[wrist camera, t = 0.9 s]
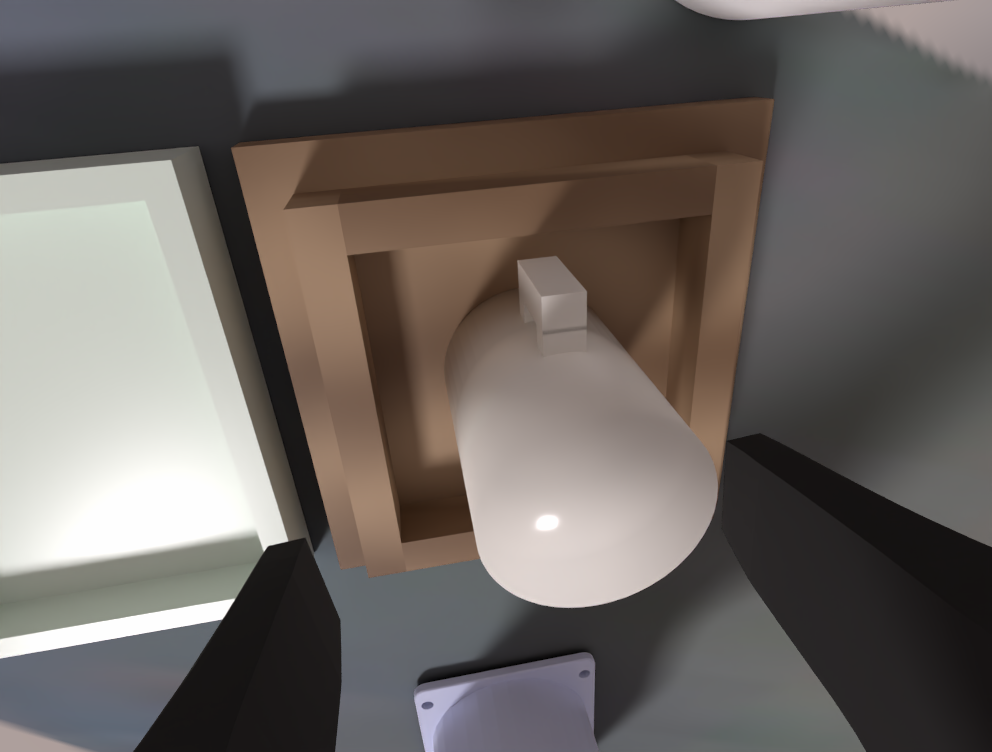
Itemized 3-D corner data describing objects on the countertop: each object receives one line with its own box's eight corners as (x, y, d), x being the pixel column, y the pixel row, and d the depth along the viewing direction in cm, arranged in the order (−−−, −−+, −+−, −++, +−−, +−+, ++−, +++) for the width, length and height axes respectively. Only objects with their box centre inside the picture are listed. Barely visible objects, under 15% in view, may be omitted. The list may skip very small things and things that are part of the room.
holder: (704, 488, 24) (741, 538, 21) (342, 549, 22) (337, 610, 20) (754, 96, 17) (816, 103, 15) (239, 142, 15) (212, 159, 13)
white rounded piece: (607, 424, 20) (704, 585, 14) (452, 448, 20) (484, 626, 13) (612, 229, 17) (742, 326, 11) (428, 249, 16) (456, 364, 10)
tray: (314, 554, 22) (307, 604, 20) (-13, 608, 21) (-55, 668, 19) (198, 146, 15) (170, 160, 13) (-297, 190, 14) (-409, 212, 12)
